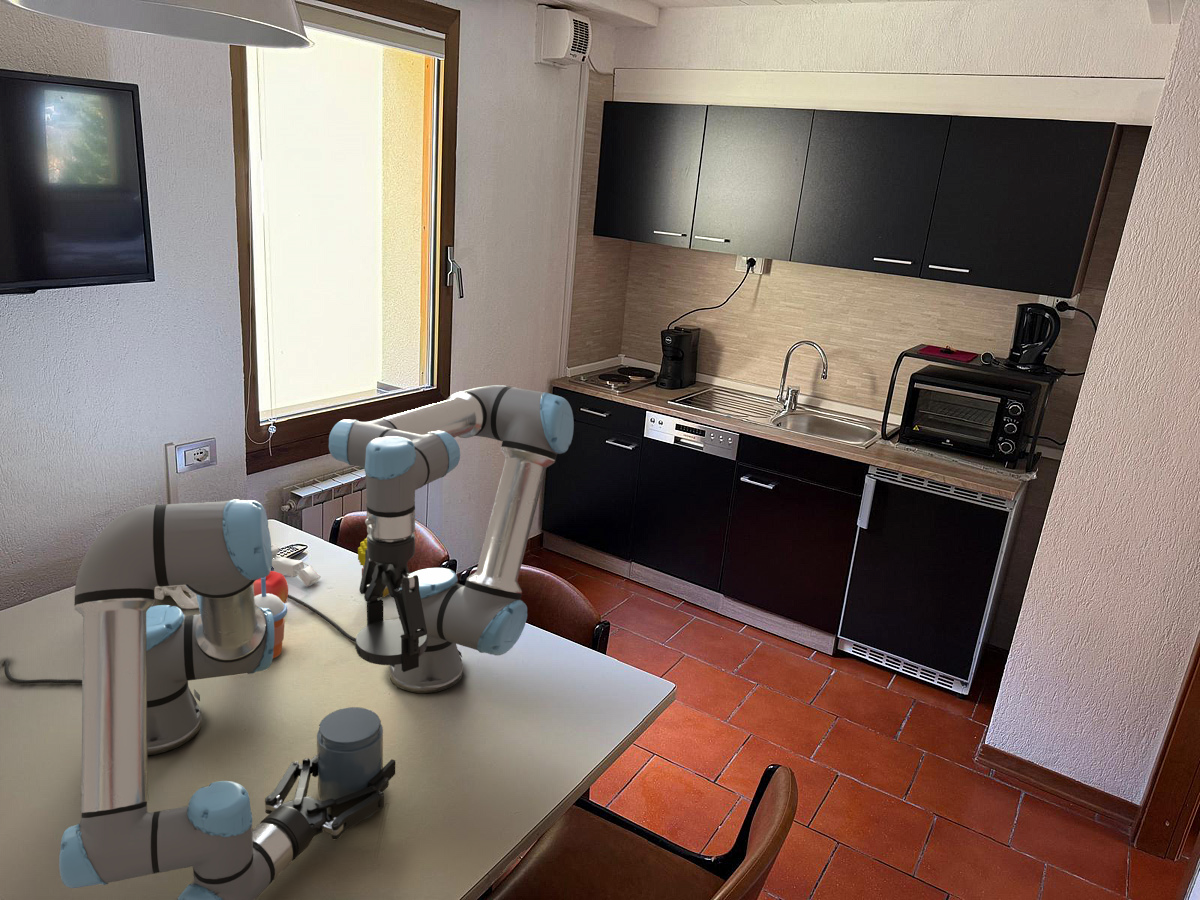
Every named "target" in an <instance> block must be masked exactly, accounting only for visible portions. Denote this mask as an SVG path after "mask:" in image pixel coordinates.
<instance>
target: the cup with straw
mask: <svg viewBox="0 0 1200 900" xmlns="http://www.w3.org/2000/svg"><path fill="white" fill-rule="evenodd" d="M261 590H262V594H259V595H256V596H254V598H255V605H256V606H258V607H262V608H268V609H270V610H271V611H272V614H273V619H274V648H273V652H274V653H273V659H275V658H277V657H279V656H280V655H281V653H282V649H283V641H284V638H285V637H284V636H285V623H286V621H285V620H286V619H285V617H286V616H287V614H288V605H287V604H286V603H283V602H282V601H281V599H280V598H279V597H277V596H275V595H273V594H269V593H266V578H265V577H263V578H261Z"/></svg>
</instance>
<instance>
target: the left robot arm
mask: <svg viewBox="0 0 1200 900" xmlns="http://www.w3.org/2000/svg"><path fill="white" fill-rule="evenodd" d="M271 545H272V539H271V532H270V528H269V519H268V515H267V511H266V509H265V507H264V505H263V504H262V503H260V502H259V501H257V500H253V499H252V500H251V499H247V500H246V499H245V500H244V499H241V500H240V499H237V498H233V499H230V500H223V501H207V502H185V503H167V504H156V503H155V504H146V505H141V506H137V507H135V508H132V509H130V510H128V511H126V512H124V513H122V514H120V515H118V517H116V518H114V519H113V520H111V522H109V524H107V525H106V526H105V527H104V528H103V529H102V530H101V531H100V532H99V534H97V536H96V538H95V539H94V540H93V542H92V543H91V545H90V547H89V548H88V550H87V551H86V553H85V555H84V557H83V560H82V562H81V563H80V567H79V569H78V572H77V576H76V581H75V587H74V604H73V605H74V607H73V608H74V610H75V611H76V612H77V613H78V614H80V615H81V617H82V671H81V672H82V675H81V677H82V678H81V679H57V678H56V679H55V678H54V679H53V678H44V679H43V678H41V679H18V678H15V677H13V676H12V675H11V674H10V668H9V667H10V661H9V659H5V660H4V661H3V662H2V664H3V665H4V666H3V667H4V669H3V671H4V675H5V677H6V678H7V680H8V681H11V682H12V683H15V684H21V685H24V684H25V685H28V684H29V685H31V684H81V685H82V687H81V688H82V689H81V690H82V691H81V766H80V767H81V770H80V771H81V776H80V778H81V779H80V781H81V782H80V813H81V816H80V822H79V823H77V824H76V825H71V826H69V827H67V828H66V829H65V831H64V832H63V834H62V836H61V840H60V846H59V847H60V851H59V854H58V855H59V857H58V859H59V860H58V865H59V866H58V867H59V875H60V879H61V882H62V884H63V885H64V886H65V887H67V888H70V889H76V888H78V889H79V888H84V887H90V886H97V885H103V886H106V885H108V884H109V883H115V882H120V881H125V880H129V879H135V878H140V877H143V876H148V875H153V874H158V873H166V872H171V871H176V870H181V869H187V868H191V867H192V872H193V882H191V883H190V884H188V885H187V886H185V888H184V889H183V891H182V892H181V893H180V894H179V895H178V897H177V900H256V899H257V898H258V897H259V896H260V895H261V894H262V893H263V892H264V891H265V890H266V889H267V888H268V887H269V886H270V884H271V883H273V882H274V881H275V880H276V879H277V878H278V877H279V876H280V875H281V874H282V873H283V872H284V871H285V870H286V869H287V868H288V867H289V865H290V864H291V863H292V862H293V861H295V860H296V859H297V858H298V857H299V856H300V855H301V854H302V853H303V852H304V851H305V850H306V849H307V848H308V847H309V846H310V844H311V842H312V841H313V839H314V838H315V837H316V836H317V835H319V834H322V833H323V832H325V833H328V834H330V835H331V839H332V840H334V841H335V840H339V839H340V838H341V836H343V834H344V833H345V832H346V831H348V830H349V829H351V828H352V827H354V826H356V825H358V824H359V823H361V822H362V821H364V820H366V819H365V818H367V817H368V818H370V817H371V816H370V815H372V814H373V813H374V814H376V813H378V811H380V810H382V809H383V808H384V807H385V806H384V805H385V801H384V800H385V793H384V792H385V790H386V789H387V788H388V787H389V785H390V783H389V782H390V780H392V778H393V777H394V776H395V775H396V760H395V759H392V758H391V759H390V760H389V761H388V762H387V763H386V764H385V765H383V768H382V769H381V770H380V771H379V772H378V773H377V774H376V775H375V776H374V777H373V778H372V779H371V780H370V781H369V782H368V787H367V788H364V789H362V790H359V791H356V792H354V793H351V794H348V795H346V796H343V797H340V798H338V799H335V800H334V799H332V798H331V799H328V800H325V801H322V800H319V799H316V798H314V797H313V796H312V795H311V796H310V795H308V790H309V787H310V781H311V778H312V777H315V778H318V759H317V754H315V755H314V756H313V757H311V759H310V758H309V757H305V758H303V759H302V763H299V761H298V760H293V761H292V762H291V763H290V765H289V766H288V768H287V769H286V771H285V773H284V774H283V776H282V777H281V779H280V781H279V782H278V783H277V785H276V787H275V789H274V790H273V791H272V792H270V794H267V796H266V797H265V798H264V807H265V808H264V809H265V814H266V816H265V817H264V818H263V819H262V820H261V821H260V822H259V823H258V824H256V825H255V826H254V827H253V813H252V809H251V799H250V796H249V795H250V794H249V792H248V790H247V789H246V788H245V787H244V785H242V784H240V783H239V782H236V781H232V780H218V781H213V782H210V784H209V785H207V786H202V787H200V788H198V789H197V790H196V791H195V792H194V793H193V794H192V795H191V797H190V799H189V801H188V805H187V806H180V807H174V808H169V809H162V810H155V811H150V812H148V756H153V755H158V754H162V753H166V752H168V751H171V750H174V749H176V748H178V747H181V746H183V745H184V744H187V743H188V742H189V741H190V740H192V739H193V737H195V736H196V735H197V734H198V733H199V731H200V729H201V727H202V723H203V721H202V720H203V718H202V711H201V709H200V706H199V704H198V702H197V700H198V701H199V702H201V694H200V693H199V692H198V691H196V689H195V688H193V693H192V691H191V689H190V687H189V681H194V680H195V681H196V680H203V679H212V678H221V677H229V676H236V675H244V674H245V675H246V674H247V675H252V674H255V673H258V672H263V671H264V672H265V671H266V670H269V668H270V667H271V665H272V664H273V661H274V660H273V659H274V658H273V653H274V652H273V648H274V619H273V614H272V611H271V610H270V609H268V608H262V607H258V606H256V605H255V598H254V586H253V583H254V582H255V581H256V580H258V579H260V578H263V577H266V576H268V575H269V573H270V571H271V566H272V550H271ZM174 585H186V586H187V587H188V588H189V589H190V590H191V591H192V592H194V593H195V594H196V596H197V601H198V605H199V608H198V609H199V610H198V611H199V613H198V614H190V615H185V613H184V612H183V610H182V608H181V607H179V606H176V605H171V604H170V605H169V604H161V605H154V604H155V597H154V590H155V587H158V586H159V587H162V586H174ZM196 699H197V700H196ZM311 776H312V777H311ZM298 778H299V780H298ZM297 780H298V784H297V788H296V789H295V795H294V798H293V799H292V800H288V801H285V800H286V798H287V797H288V795H289V793H290V792H291V790H292V788H293V787H294V785H295V784H296V782H297ZM327 808H329V814H328V815H327ZM374 814H373V815H374ZM373 815H372V816H373ZM369 816H370V817H369ZM368 818H367V819H368Z"/></svg>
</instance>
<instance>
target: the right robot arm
mask: <svg viewBox="0 0 1200 900" xmlns="http://www.w3.org/2000/svg"><path fill="white" fill-rule="evenodd" d="M571 406H572V405H570V403H569V401H568V400H567V399H566V398H565V397H562V396H559V395H556V394H553V393H549V392H547V391H545V392H544V391H537V390H532V389H526V388H520V387H519V388H518V387H514V386H509V385H502V384H501V385H500V384H497V385H496V384H495V385H485V386H480V387H473V388H470V389H465V390H461V391H457V392H455V393H452V394H451V395H450V396H448V397H447V399H446V400H443V401H440V402H437V403H432V404H428V405H424V406H421V407H418V408H417V407H416V408H415V409H411V410H407V411H404V412H399V413H396V414H392V415H388V416H385V417H382V418H378V419H377V418H376V419H373V420H370V421H359V419H342V420H340V421H338V422H336V423H335V424H334V426H333V427H332V429H331V431H330V432H329V437H328V450H329V454H330V455H331V456H332V458H333V459H335V460H336V461H338V462H342V463H346V464H347V465H348V466H356V467H360V468H363V470H364V474H365V493H366V503H365V504H366V519H365V520H364V524H365V525H366V532H367V536H366V538H367V549H366V550H365V565H364V570H363V574H362V573H361V580H360V585H359V590H358V591H359V593H360V594H361V595H364V596H363V597H364V601H365V602H366V626H367V625H369V624H371V623H374V622H377V621H381V620H385V618H384V617H385V615H384V600H383V599H382V598H385V597H384V596H383V591H384V589H385V587H386V586H387V588H388V591H389V594H388V595H389V596H390V598H393V600H394V603H395V607H396V610H397V614H398V619H400V621H401V624H402V628H403V631H404V634H403V635H401V636H400V637H401V662H402V664H397V665H389V679H390V681H391V682H392V683H393V684H394V685H395V686H396V687H398V688H399V689H401V690H404V691H407V692H410V693H416V694H430V693H431V694H432V693H438V692H441V691H445V690H447V689H450V688H451V687H453V686H455V685H456V684H457V683H458V682H459V681H460V680H461V679H462V676H463V672H464V664H463V660H462V658H463V656H462V655H463V654H462V652H461V651H460V650H459V649H458V646H457V645H459V646H462V647H466V648H469V649H472V650H476V651H478V652H479V653H481V654H484V653H485V654H488V655H493V656H502V655H505V654H506V653H508V652H509V651H511V649H512V648H513V647H514V646H515V645H516V644H517V642H518V640H519V639H520V637H521V635H522V634H523V631H524V629H525V626H526V623H527V619H528V606H527V604H526V603H525V602H524V601H523V600H522V599H521V598H522V594H523V590H522V588H521V586H520V584H519V582H518V580H519V576H520V572H521V568H522V563H523V562H524V561H523V560H524V556H525V554H526V553H525V552H526V549H527V543H528V541H529V536H530V533H531V530H532V529H531V528H532V524H533V521H534V518H535V513H536V511H537V510H536V509H537V506H538V502H539V498H540V494H541V489H542V486H543V481H544V478H545V474H546V471H547V468H549V467H550V466H552V465H554V464H556V460H557V456H558V455H561V454H565V453H566V452H567V451H568V450H569V447H570V446H571V444H572V440H573V436H574V427H575V424H574V414H573V409H572V407H571ZM473 437H480V438H486V439H490V440H491V439H492V440H496V441H500V442H501V446H500V451H501V452H502V453H503V455H504V458H505V459H504V463H503V467H502V472H501V476H500V479H499V483H498V486H497V490H496V494H495V498H494V502H493V506H492V509H491V513H490V517H489V521H488V526H487V528H486V531H485V532H486V534H485V537H484V540H483V544H482V548H481V552H480V555H479V559H478V563H477V568H476V571H475V572H474V573H472V574H471V575H469V576H468V577H466V579H465V584H464V585H463V584H460V583H458V580H459V579H458V575H457V574H456V572H455V571H454V570H452V569H450V568H445V567H428V568H423V569H418V570H416V571H413V572H410V571H409V567H408V563H409V561H410V560H411V559H413V557H414V556H415V554H416V534H415V532H416V490H417V491H418V489H421V488H423V487H424V486H426V485H428V484H430V483H433V482H434V481H436V480H439V479H441V478H444V477H445V476H447V474H449V473H450V472H453V470H455V469H456V467H458V464H459V462H460V459H461V450H460V449H461V448H460V446H459V443H458V441H457V440H456V439H455V438H461V439H470V438H473ZM368 584H370V585H368ZM398 589H399V590H398ZM287 599H289V600H291V601H293V602H295V603H297V604H299V605H301V606H303V607H304V608H306V609H307V610H309V611H311V612H312V613H314V614H315V615H317V616H318V617H320V618H321V619H323V621H325V622H326V623H328V624H329V625H331V626H332V627H333V628H335V629H336V630H337V631H338V632H339V633H340V634H341V635H342V636H343V637H345V638H346V639H348V640H349V641H352V642H353V643H355V642H356V637H354V636H352V635H350V634H349V633H347V632H346V631H345V630H344V629H343V628H342V627H341V626H340V625H338V624H337V623H336V622H335V621H333V620H331V618H329V617H328V616H326V615H325V614H323V613H322V612H321V611H319V610H317V609H316V608H315V607H313V606H312V605H310V604H308V603H306V602H305V601H303V600H301V599H299V598H298V597H295V596H293V595H290V594H289V593H288V598H287ZM425 635H428V642H427V648H426V650H425V652H424V653H423V654H422V655H421V656H419V637H422V636H425Z"/></svg>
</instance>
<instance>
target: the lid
mask: <svg viewBox="0 0 1200 900" xmlns="http://www.w3.org/2000/svg"><path fill="white" fill-rule="evenodd" d="M403 634H404V631H403V628H402V624H401V621H400V619H399V618H388V619H384V620H381V621H377V622H374V623H371V624H369V625H367V624H366V625H365V626H364V627H362V628H361V629H360V630H359V631H358V632H357V634H356V636H355V638H356V642H354V643H355V651H356V653H357V655H358V657H359V658H360V659H362V660H363V661H365V662H367V663H369V664H375V665H379V666H390V665H397V664H402V662H401V637H400V636H401V635H403ZM427 642H428V635H425V636H422V637H419V656H421V655H422V654H423V653H424V652H425V650H426V648H427Z"/></svg>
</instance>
